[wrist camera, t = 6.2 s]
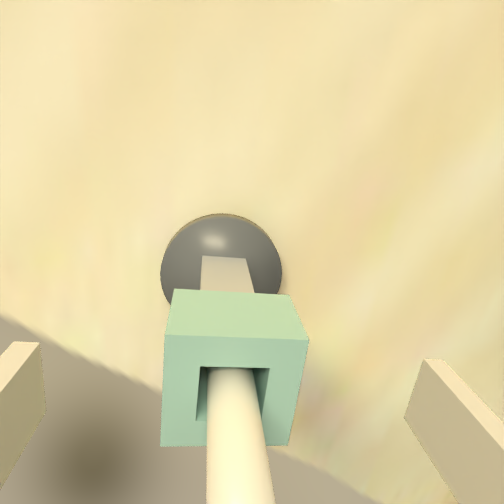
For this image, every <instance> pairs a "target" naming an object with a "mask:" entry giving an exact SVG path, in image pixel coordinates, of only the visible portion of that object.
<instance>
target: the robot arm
mask: <svg viewBox="0 0 504 504" xmlns="http://www.w3.org/2000/svg"><path fill="white" fill-rule="evenodd" d="M45 413H46V401H45V391H44V381H43V370H42V360H41V350H40V343H34V342H13V343H12V344H11V345H10V346H9V348H8V349H7V350H6V351H5V352H4V353H3V354H2V355H1V356H0V490H1V488H2V486H3V485H4V483H5V481H6V480H7V478H8V476H9V474H10V473H11V471H12V469H13V467H14V466H15V464H16V462H17V461H18V459H19V457H20V456H21V454H22V452H23V450H24V449H25V447H26V445H27V444H28V442H29V440H30V438H31V437H32V435H33V433H34V432H35V430H36V428H37V426H38V425H39V423H40V421H41V420H42V418H43V416H44V414H45ZM404 419H405V420H406V422H407V423H408V425H409V427H410V428H411V430H412V431H413V433H414V434H415V436H416V438H417V439H418V441H419V442H420V444H421V445H422V447H423V449H424V450H425V452H426V453H427V455H428V456H429V458H430V460H431V461H432V463H433V464H434V466H435V467H436V469H437V471H438V472H439V474H440V475H441V477H442V478H443V480H444V482H445V483H446V485H447V486H448V488H449V489H450V491H451V493H452V494H453V496H454V497H455V499H456V500H457V502H458V504H504V423H503V422H502V421H501V420H500V419H499V418H498V417H497V416H496V415H495V414H494V413H493V412H492V411H491V409H490V408H489V407H488V406H487V405H486V404H485V403H484V402H483V401H482V400H481V399H480V398H479V397H478V396H477V395H476V394H475V393H474V392H473V391H472V390H471V389H470V388H469V386H468V385H467V384H466V383H465V382H464V381H463V380H462V379H461V378H460V377H459V376H458V375H457V374H456V373H455V372H454V371H453V370H452V369H451V368H450V367H449V366H448V364H447V363H446V362H445V361H444V360H440V359H423V362H422V365H421V368H420V371H419V374H418V377H417V380H416V383H415V386H414V389H413V392H412V395H411V398H410V401H409V404H408V407H407V410H406V413H405V416H404Z"/></svg>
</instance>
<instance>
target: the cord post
mask: <svg viewBox="0 0 504 504" xmlns="http://www.w3.org/2000/svg"><path fill="white" fill-rule="evenodd" d="M281 275H282V270H281V262H280V258H279V255H278V252H277V250H276V248H275V246H274V245H273V243H272V241H271V239H270V238H269V236H268V235H267V234H266V233H265V232H264V231H263V229H261V228H260V227H259V226H258V225H256V224H255V223H253V222H252V221H250V220H248V219H245V218H243V217H240V216H237V215H231V214H211V215H207V216H203V217H200V218H197V219H195V220H193V221H191V222H189V223H188V224H186V225H185V226H184V227H182V228H181V229H180V230H179V231H178V232H177V233H176V234H175V235H174V237H173V238H172V239H171V241H170V243H169V244H168V246H167V249H166V251H165V254H164V257H163V261H162V264H161V272H160V276H161V285H162V289H163V292H164V295H165V297H166V299H167V300H168V302H169V303H170V305H171V302H172V297H173V292H174V289H191V290H208V291H226V292H244V293H262V294H277V292H278V290H279V287H280V283H281ZM206 486H207V487H206V493H207V494H206V501H207V502H206V504H276V502H275V496H274V490H273V485H272V479H271V473H270V467H269V461H268V456H267V449H266V444H265V438H264V432H263V426H262V420H261V415H260V409H259V403H258V397H257V392H256V386H255V380H254V374H253V368H245V367H207V484H206Z"/></svg>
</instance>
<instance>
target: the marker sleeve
mask: <svg viewBox="0 0 504 504" xmlns="http://www.w3.org/2000/svg"><path fill="white" fill-rule="evenodd" d="M308 344H309V338H308V336H307V334H306V331H305V329H304V327H303V325H302V323H301V320H300V318H299V316H298V314H297V311H296V309H295V307H294V305H293V303H292V300H291V298H290V296H289V295H280V294H262V293H244V292H226V291H208V290H191V289H174V292H173V297H172V302H171V307H170V312H169V317H168V322H167V326H166V331H165V343H164V367H163V391H162V416H161V417H162V418H161V439H160V446H207V367H245V368H253V374H254V380H255V386H256V392H257V397H258V403H259V409H260V415H261V420H262V426H263V432H264V438H265V444H266V446H278V445H288V441H289V436H290V431H291V427H292V422H293V417H294V412H295V407H296V402H297V397H298V393H299V388H300V383H301V378H302V373H303V368H304V363H305V359H306V354H307V349H308Z"/></svg>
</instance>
